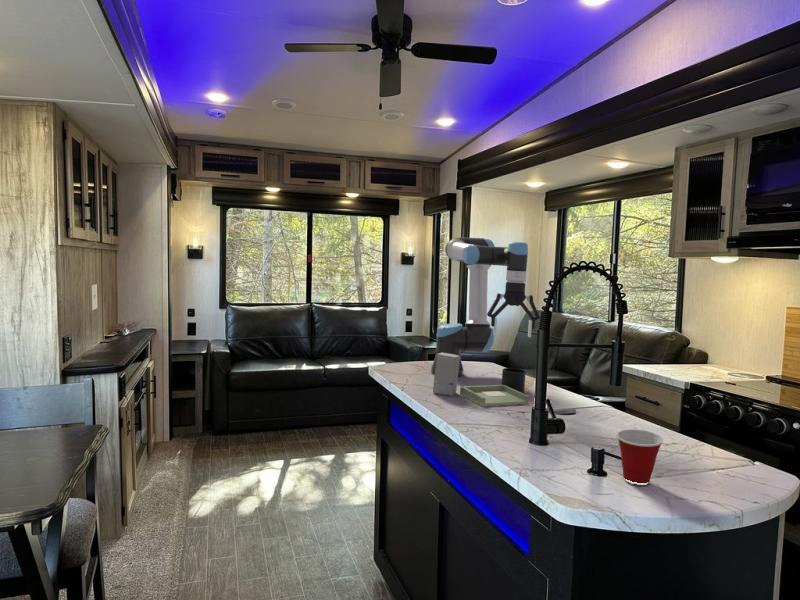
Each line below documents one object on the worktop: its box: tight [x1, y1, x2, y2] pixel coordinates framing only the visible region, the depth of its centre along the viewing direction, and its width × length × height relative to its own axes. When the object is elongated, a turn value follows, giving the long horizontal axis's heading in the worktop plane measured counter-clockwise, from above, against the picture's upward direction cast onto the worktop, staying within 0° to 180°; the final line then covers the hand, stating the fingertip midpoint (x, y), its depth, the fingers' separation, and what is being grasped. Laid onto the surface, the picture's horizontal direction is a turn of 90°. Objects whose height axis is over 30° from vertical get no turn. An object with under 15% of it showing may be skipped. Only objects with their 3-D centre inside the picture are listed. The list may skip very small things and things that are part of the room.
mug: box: [501, 367, 527, 394], centre depth 224 cm, size 9×12×9 cm
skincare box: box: [432, 353, 461, 397], centre depth 214 cm, size 8×7×16 cm
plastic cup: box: [615, 428, 664, 483], centre depth 134 cm, size 11×11×12 cm
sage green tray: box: [459, 384, 530, 408], centre depth 209 cm, size 18×20×3 cm
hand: (511, 335), depth 211 cm, fingers open, 13 cm apart
